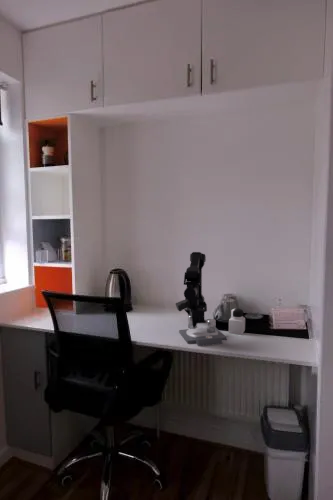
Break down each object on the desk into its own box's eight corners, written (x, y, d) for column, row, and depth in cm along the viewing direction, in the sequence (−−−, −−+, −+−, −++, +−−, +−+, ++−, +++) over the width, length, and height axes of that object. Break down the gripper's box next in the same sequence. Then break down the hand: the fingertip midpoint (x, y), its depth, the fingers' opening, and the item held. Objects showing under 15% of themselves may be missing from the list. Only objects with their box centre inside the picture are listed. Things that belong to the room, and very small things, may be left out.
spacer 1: (195, 325, 167) (195, 314, 166) (198, 328, 162) (198, 316, 162) (187, 326, 166) (187, 314, 165) (189, 329, 161) (189, 317, 161)
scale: (214, 329, 175) (214, 323, 175) (230, 342, 156) (230, 336, 156) (179, 332, 171) (179, 326, 171) (190, 346, 152) (190, 339, 151)
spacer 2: (213, 329, 169) (213, 318, 168) (216, 332, 165) (216, 321, 164) (205, 330, 168) (205, 319, 167) (208, 333, 164) (208, 321, 163)
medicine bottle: (245, 330, 173) (245, 308, 172) (242, 334, 167) (242, 311, 166) (231, 328, 176) (232, 307, 175) (228, 332, 170) (228, 310, 169)
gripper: (172, 291, 170) (172, 321, 171) (182, 300, 152) (182, 333, 153) (192, 290, 172) (193, 319, 174) (204, 298, 154) (204, 331, 155)
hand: (192, 325), depth 164 cm, fingers closed on spacer 1, 4 cm apart
